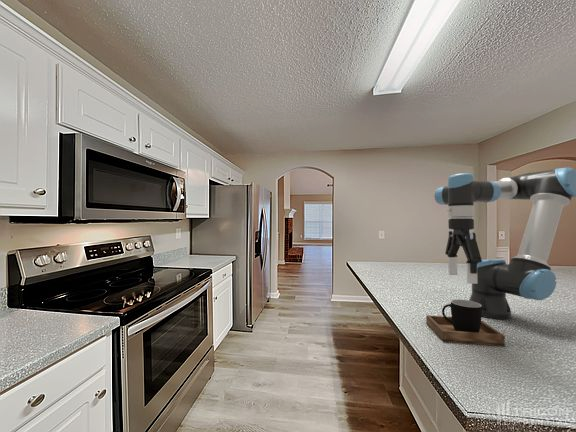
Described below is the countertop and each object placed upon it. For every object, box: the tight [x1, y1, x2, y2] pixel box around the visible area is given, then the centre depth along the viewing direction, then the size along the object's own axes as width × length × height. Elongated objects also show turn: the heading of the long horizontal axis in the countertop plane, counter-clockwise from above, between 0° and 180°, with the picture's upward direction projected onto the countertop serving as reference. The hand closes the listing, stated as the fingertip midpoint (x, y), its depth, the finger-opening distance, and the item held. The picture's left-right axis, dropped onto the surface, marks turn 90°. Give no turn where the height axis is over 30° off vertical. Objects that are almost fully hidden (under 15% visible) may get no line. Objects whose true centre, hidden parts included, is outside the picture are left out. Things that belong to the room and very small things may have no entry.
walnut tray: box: [426, 315, 506, 347], centre depth 91 cm, size 18×15×3 cm
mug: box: [441, 298, 483, 333], centre depth 92 cm, size 12×9×10 cm
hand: (461, 278), depth 92 cm, fingers open, 13 cm apart
